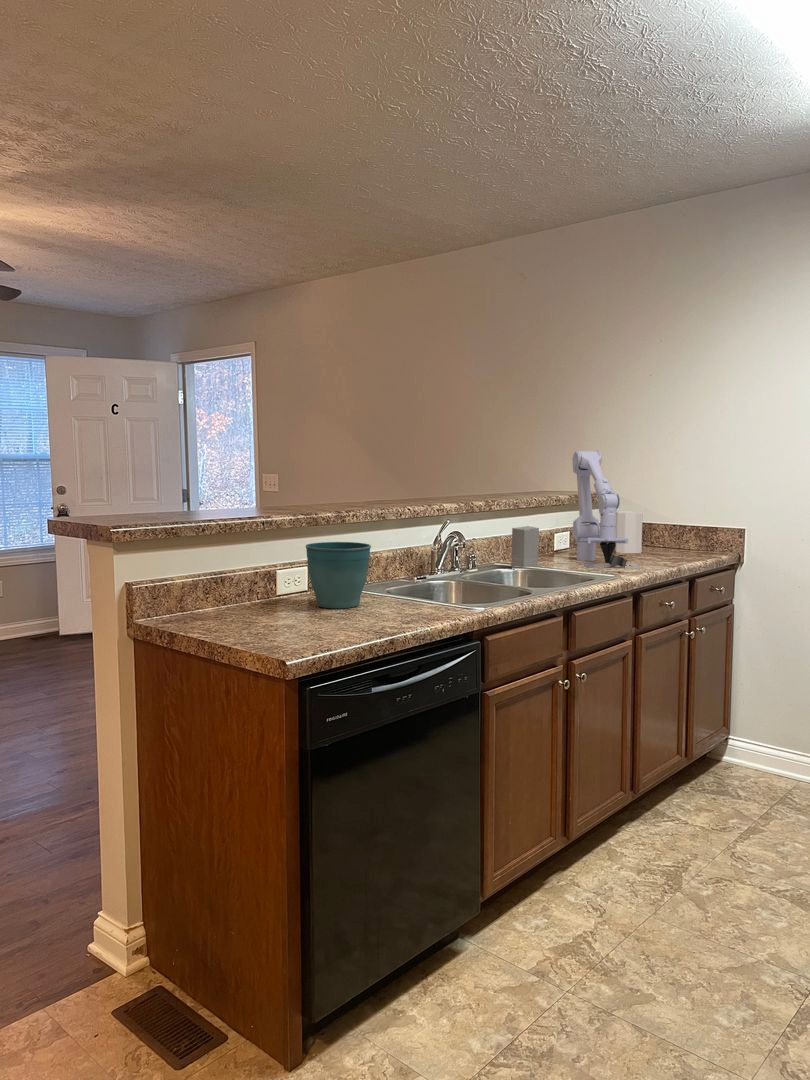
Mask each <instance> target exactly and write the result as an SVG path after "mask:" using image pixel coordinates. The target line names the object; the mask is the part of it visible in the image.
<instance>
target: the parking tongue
mask: <svg viewBox="0 0 810 1080" xmlns="http://www.w3.org/2000/svg"><path fill="white" fill-rule="evenodd" d="M554 563H555V564H556V566H579V564H578V563H577V562H576V561H575V562H574V561H573V562H572V561H571V562H570V561H568V562H565V561H562V562H561V561H560V562H559V561H555V562H554Z"/></svg>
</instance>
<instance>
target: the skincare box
mask: <svg viewBox="0 0 810 1080" xmlns="http://www.w3.org/2000/svg"><path fill="white" fill-rule="evenodd" d="M539 531H540V528H539V527H537V526H535V527H534V526H529V525H525V526H520V527H512V529H511V560H510V561H511V563H510V564H511V567H516V568H517V567H519V568H528V567H537V566H539V564H538V563H539V539H540V538H539V535H540V532H539Z"/></svg>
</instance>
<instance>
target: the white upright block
mask: <svg viewBox="0 0 810 1080" xmlns="http://www.w3.org/2000/svg"><path fill="white" fill-rule="evenodd" d="M643 517H644V515H643V512H642V511H635V510H631V511H628V510H627V511H625V510H623V511H622V510H621V511H616V538H628V544H625V543H615V544H616V547H615V549H614V551H616V552H621V553H641V552H642V548H643V547H642V544H643ZM642 553H643V552H642Z"/></svg>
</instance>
